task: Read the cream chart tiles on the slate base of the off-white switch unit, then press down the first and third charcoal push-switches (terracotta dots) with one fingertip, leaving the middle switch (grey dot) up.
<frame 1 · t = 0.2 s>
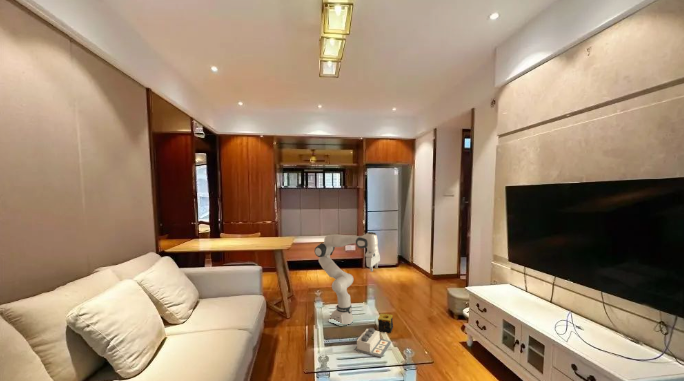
hand: (374, 269, 205), 48 cm above the table, fingers open, 8 cm apart
switch b: (368, 337, 184), point 6 cm above the table, slide at 0.0 cm
switch a: (365, 341, 179), point 6 cm above the table, slide at 0.0 cm
switch unit: (372, 346, 182), on the table
switch c: (371, 333, 188), point 6 cm above the table, slide at 0.0 cm
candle: (385, 329, 204), on the table
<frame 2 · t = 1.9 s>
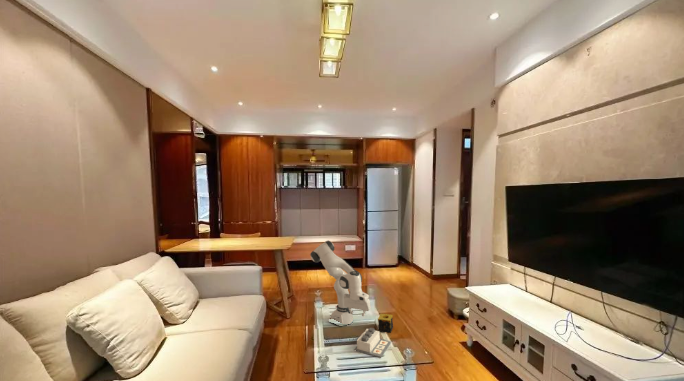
hand: (357, 314, 182), 23 cm above the table, fingers open, 8 cm apart
nothing on the table moved.
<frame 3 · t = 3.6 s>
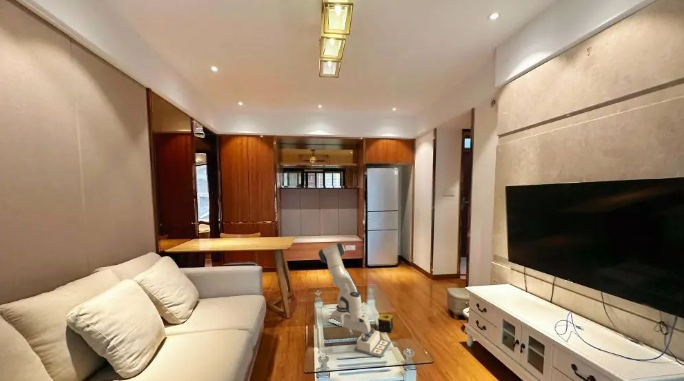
hand: (357, 336, 181), 9 cm above the table, fingers open, 8 cm apart
switch a: (365, 341, 179), point 6 cm above the table, slide at 0.2 cm, touching gripper
everything else where it was.
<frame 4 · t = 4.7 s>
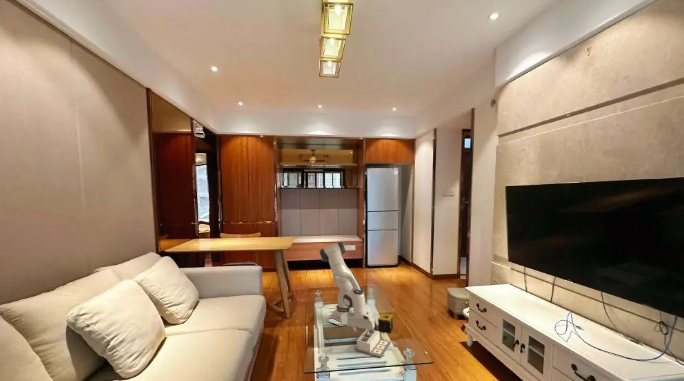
hand: (361, 333, 182), 10 cm above the table, fingers open, 8 cm apart
switch a: (365, 343, 179), point 5 cm above the table, slide at 1.4 cm
everything else where it was.
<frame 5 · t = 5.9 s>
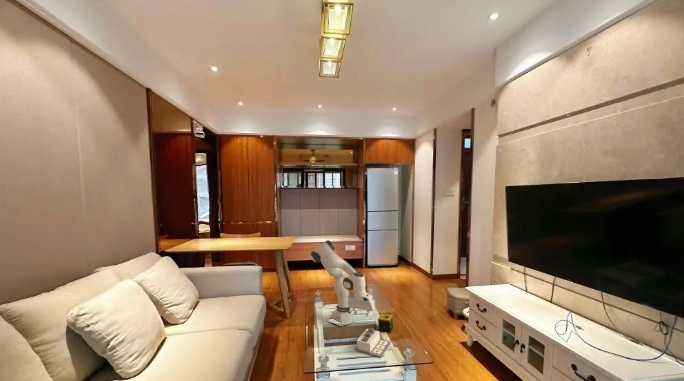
hand: (361, 314, 186), 21 cm above the table, fingers open, 8 cm apart
nothing on the table moved.
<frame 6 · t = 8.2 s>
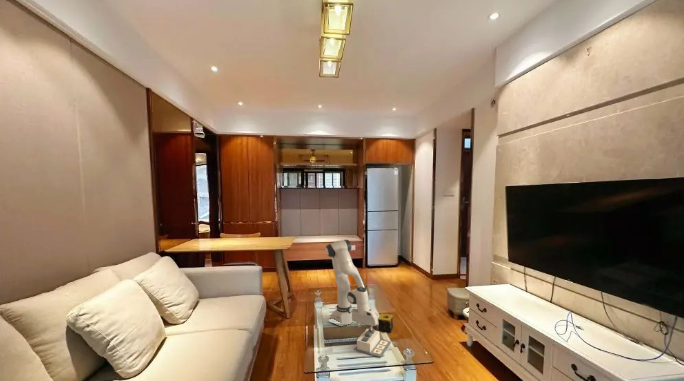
hand: (365, 328, 190), 9 cm above the table, fingers open, 8 cm apart
switch c: (371, 333, 188), point 6 cm above the table, slide at 0.3 cm, touching gripper
everything else where it was.
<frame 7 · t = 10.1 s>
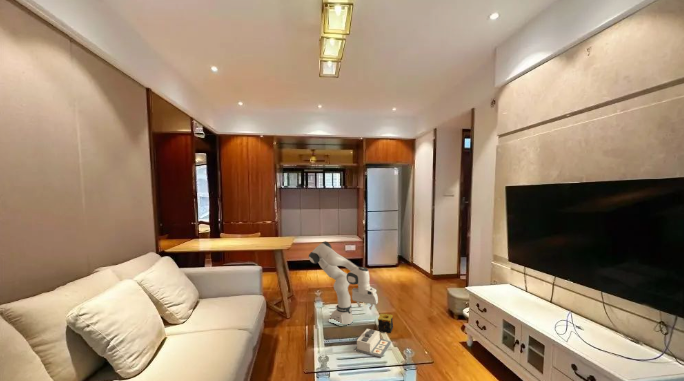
hand: (365, 308, 192), 23 cm above the table, fingers open, 8 cm apart
switch c: (371, 335, 188), point 5 cm above the table, slide at 1.4 cm
everything else where it was.
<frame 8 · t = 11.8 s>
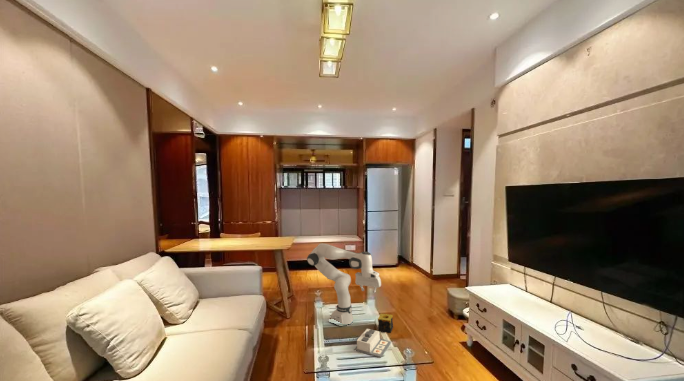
hand: (368, 291, 196), 34 cm above the table, fingers open, 8 cm apart
nothing on the table moved.
at the end: switch a slide at 1.4 cm; switch b slide at 0.0 cm; switch c slide at 1.4 cm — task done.
